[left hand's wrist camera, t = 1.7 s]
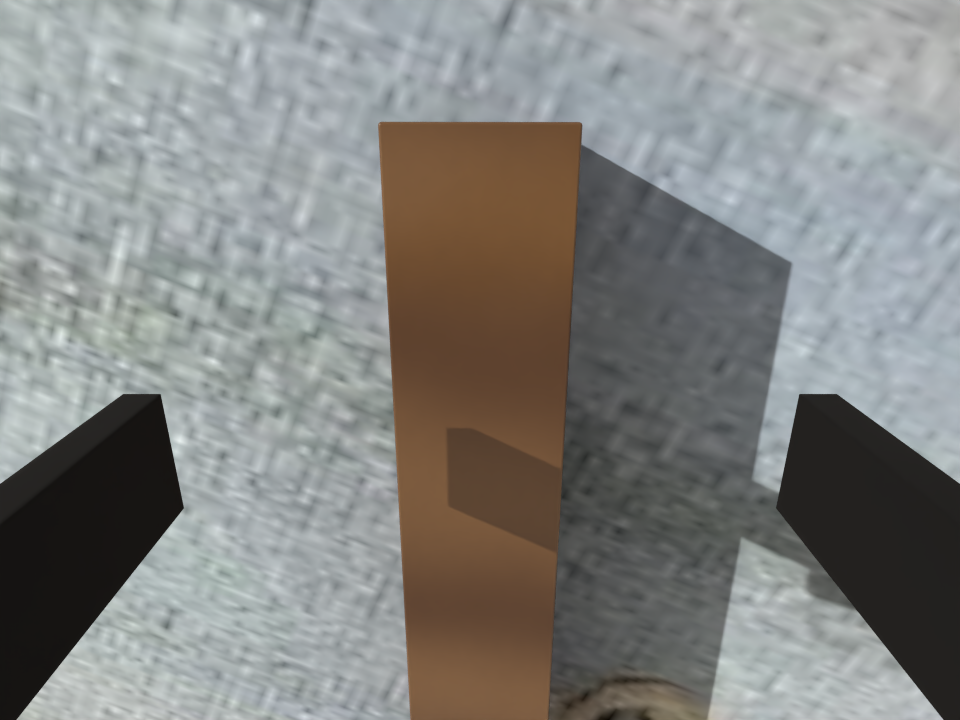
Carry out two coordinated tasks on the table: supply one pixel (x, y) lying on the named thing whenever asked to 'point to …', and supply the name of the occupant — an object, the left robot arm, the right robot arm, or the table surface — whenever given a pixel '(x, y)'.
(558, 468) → the post
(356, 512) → the table surface
